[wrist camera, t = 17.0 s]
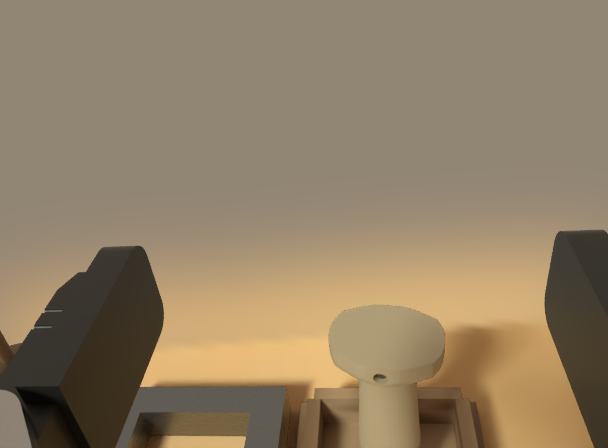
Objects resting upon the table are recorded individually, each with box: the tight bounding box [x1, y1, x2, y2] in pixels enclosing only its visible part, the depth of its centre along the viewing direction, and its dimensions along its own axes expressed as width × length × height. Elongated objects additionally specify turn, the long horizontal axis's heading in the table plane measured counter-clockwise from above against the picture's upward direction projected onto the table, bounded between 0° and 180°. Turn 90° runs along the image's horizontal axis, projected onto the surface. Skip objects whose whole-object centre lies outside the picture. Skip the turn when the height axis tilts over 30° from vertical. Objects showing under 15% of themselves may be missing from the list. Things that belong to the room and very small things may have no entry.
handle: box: [329, 305, 445, 448], centre depth 36 cm, size 5×6×15 cm
